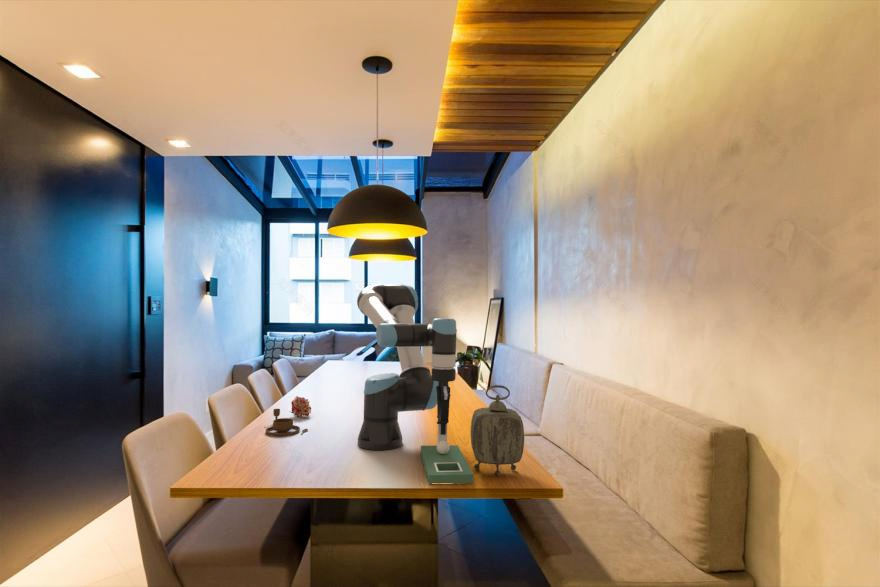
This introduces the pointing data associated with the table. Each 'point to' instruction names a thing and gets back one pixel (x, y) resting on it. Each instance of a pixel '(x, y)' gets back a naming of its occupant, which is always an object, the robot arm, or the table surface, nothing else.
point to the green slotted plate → (445, 465)
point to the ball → (443, 447)
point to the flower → (300, 407)
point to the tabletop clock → (497, 434)
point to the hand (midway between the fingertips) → (442, 444)
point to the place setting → (282, 426)
